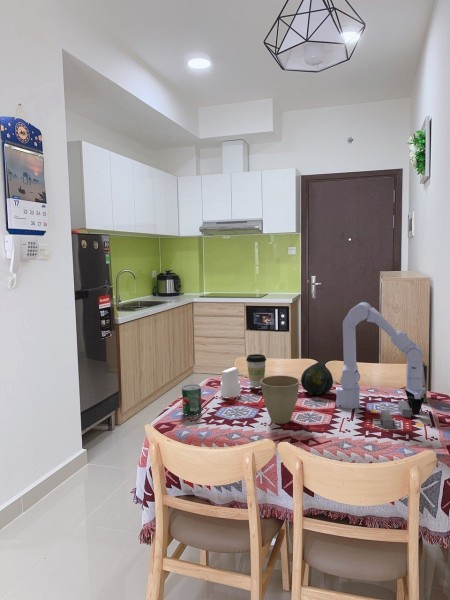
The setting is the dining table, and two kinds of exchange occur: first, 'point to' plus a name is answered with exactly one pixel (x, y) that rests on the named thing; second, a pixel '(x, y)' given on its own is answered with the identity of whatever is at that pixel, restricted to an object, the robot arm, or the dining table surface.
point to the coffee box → (424, 381)
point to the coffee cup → (256, 368)
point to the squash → (317, 379)
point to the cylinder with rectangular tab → (230, 383)
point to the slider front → (386, 419)
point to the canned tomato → (191, 399)
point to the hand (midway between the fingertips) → (414, 411)
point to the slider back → (404, 409)
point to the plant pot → (280, 397)
